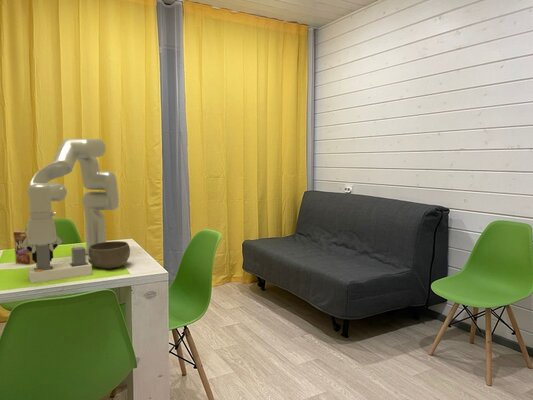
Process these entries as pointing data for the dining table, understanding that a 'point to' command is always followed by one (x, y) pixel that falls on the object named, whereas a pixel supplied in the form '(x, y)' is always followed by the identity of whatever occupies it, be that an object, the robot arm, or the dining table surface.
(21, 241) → the candy box
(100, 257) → the bowl
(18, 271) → the dining table surface
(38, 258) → the plug
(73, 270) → the power strip
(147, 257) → the dining table surface
